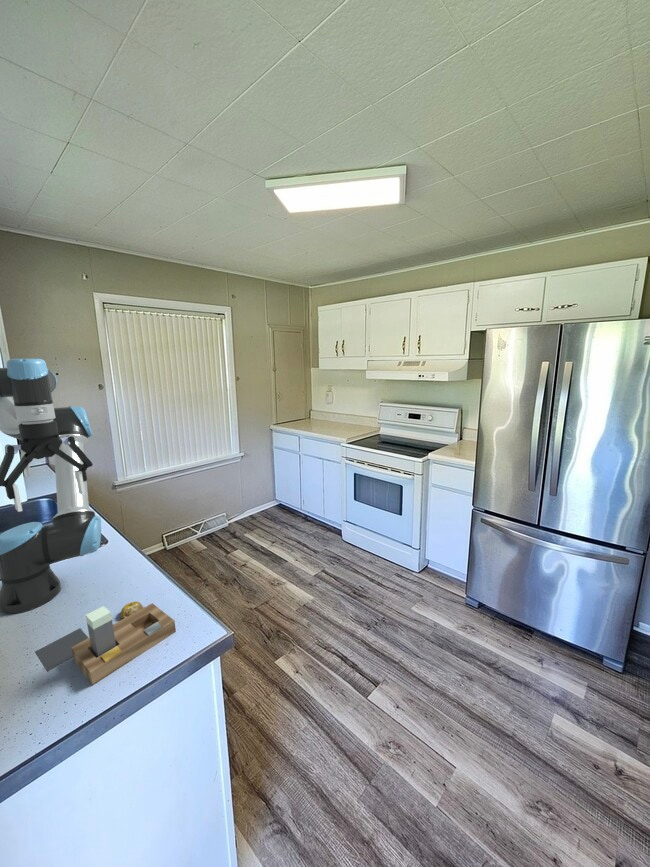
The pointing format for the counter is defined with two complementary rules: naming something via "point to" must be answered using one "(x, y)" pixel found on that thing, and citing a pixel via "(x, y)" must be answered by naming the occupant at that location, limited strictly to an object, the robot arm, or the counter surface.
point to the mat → (60, 649)
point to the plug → (101, 631)
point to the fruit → (130, 609)
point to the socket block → (125, 642)
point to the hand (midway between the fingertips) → (52, 501)
